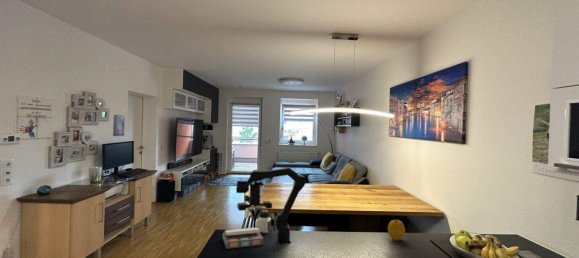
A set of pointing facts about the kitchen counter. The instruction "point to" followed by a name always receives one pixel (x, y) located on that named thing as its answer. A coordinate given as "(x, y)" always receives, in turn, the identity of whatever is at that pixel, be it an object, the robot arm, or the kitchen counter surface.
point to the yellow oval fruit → (396, 230)
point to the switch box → (242, 240)
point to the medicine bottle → (264, 222)
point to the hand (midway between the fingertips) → (254, 220)
